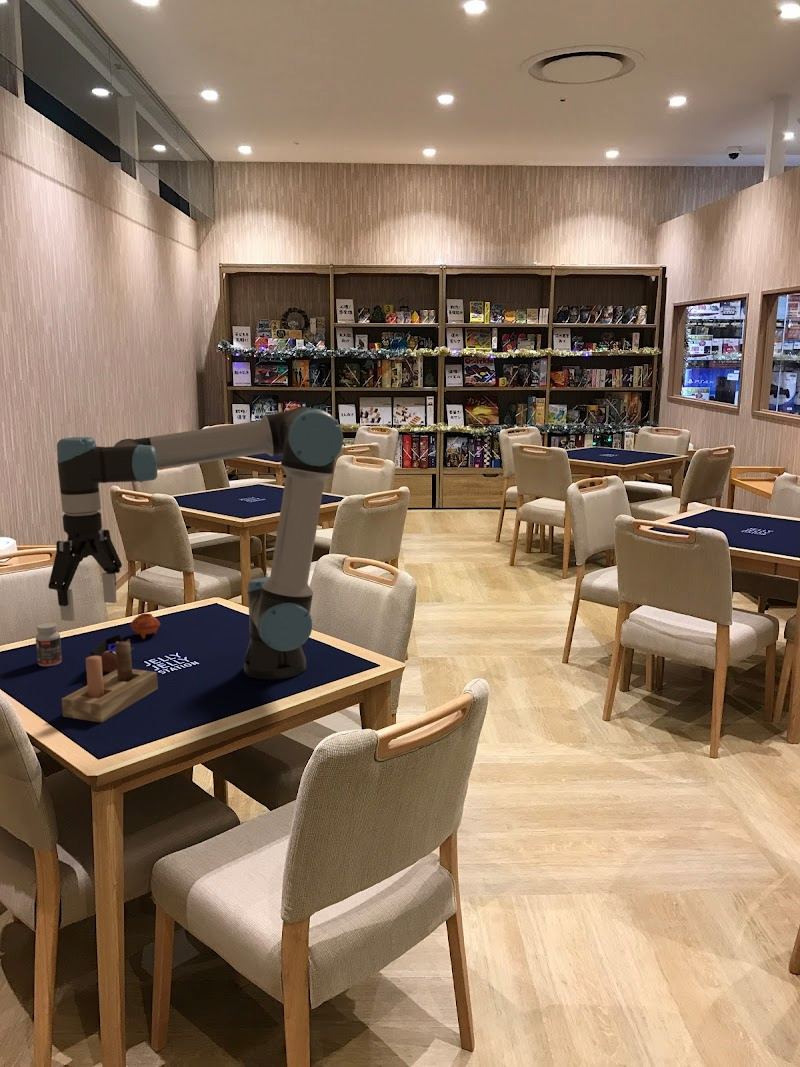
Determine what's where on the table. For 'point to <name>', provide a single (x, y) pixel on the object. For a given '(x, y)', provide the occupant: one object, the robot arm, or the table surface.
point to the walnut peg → (124, 661)
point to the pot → (145, 624)
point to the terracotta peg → (94, 676)
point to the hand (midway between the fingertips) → (90, 611)
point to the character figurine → (108, 653)
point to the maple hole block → (109, 696)
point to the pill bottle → (48, 645)
